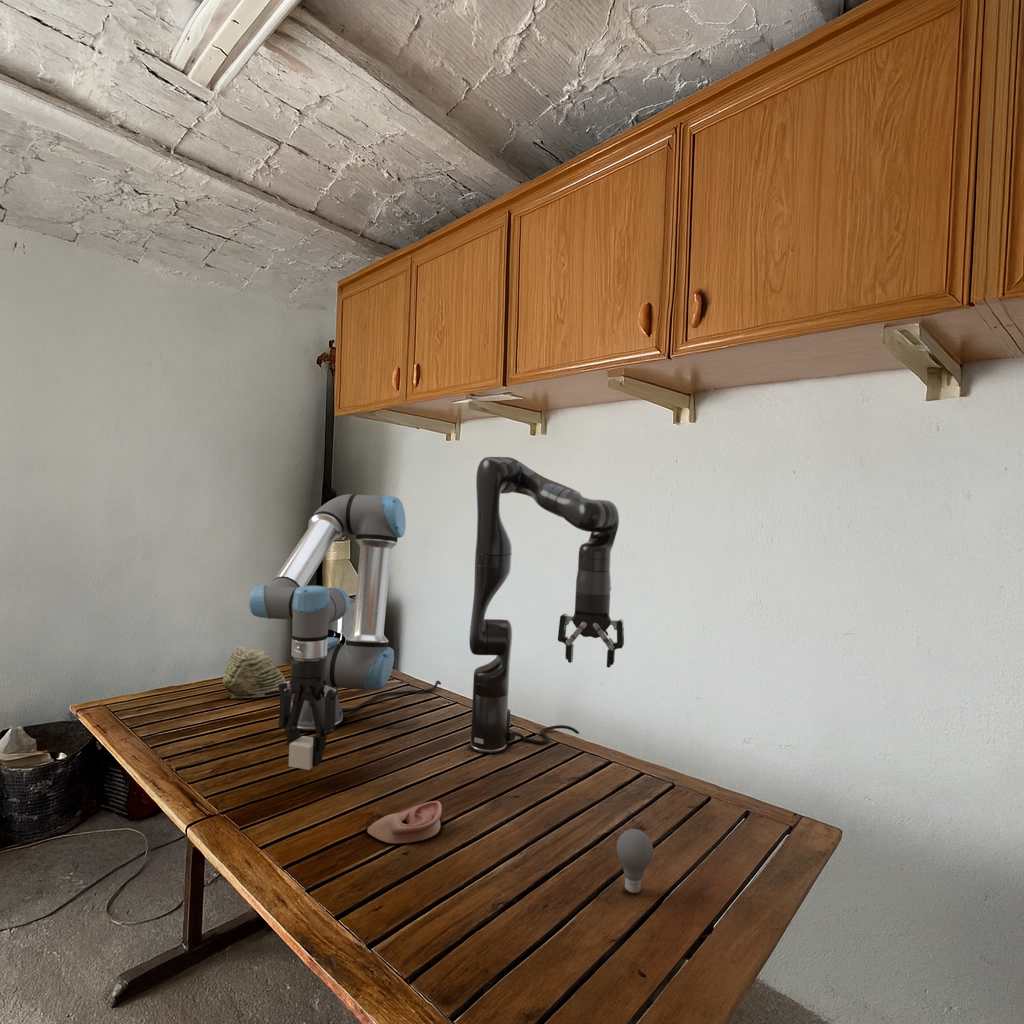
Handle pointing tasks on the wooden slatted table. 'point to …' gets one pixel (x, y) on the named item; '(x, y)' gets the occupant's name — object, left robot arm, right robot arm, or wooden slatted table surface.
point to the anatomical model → (408, 824)
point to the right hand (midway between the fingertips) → (589, 664)
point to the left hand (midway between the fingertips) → (305, 762)
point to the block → (301, 753)
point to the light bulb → (634, 857)
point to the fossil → (251, 674)
